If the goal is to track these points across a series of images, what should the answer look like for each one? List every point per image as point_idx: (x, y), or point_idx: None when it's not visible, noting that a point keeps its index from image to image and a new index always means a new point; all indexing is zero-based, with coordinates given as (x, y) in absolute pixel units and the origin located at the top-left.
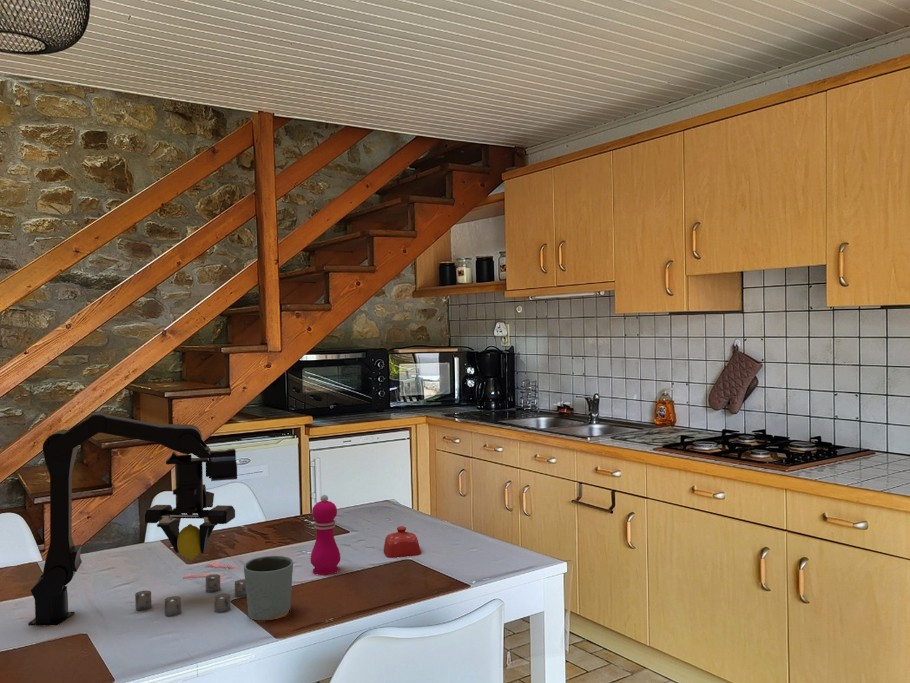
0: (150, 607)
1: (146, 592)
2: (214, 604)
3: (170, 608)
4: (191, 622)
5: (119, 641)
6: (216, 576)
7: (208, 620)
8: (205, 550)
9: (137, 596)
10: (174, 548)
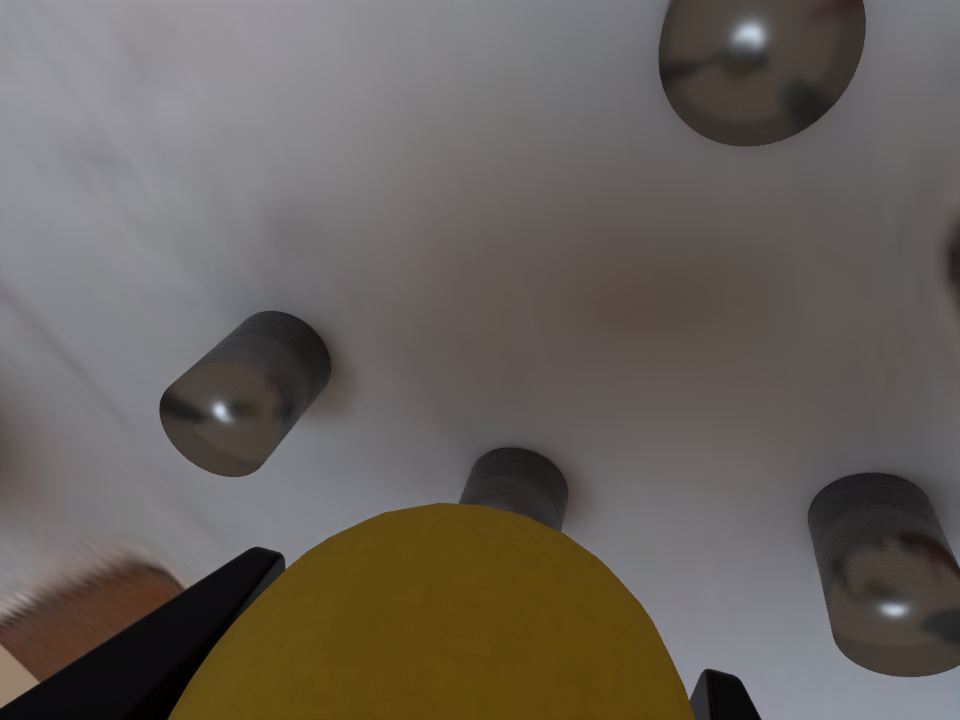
0: (317, 384)
1: (229, 419)
2: (822, 586)
3: None
4: (658, 574)
5: None
6: (811, 45)
7: (769, 573)
8: (749, 711)
9: (205, 465)
10: None
